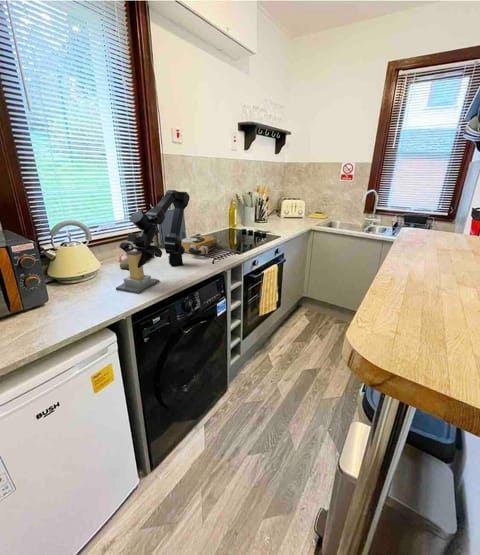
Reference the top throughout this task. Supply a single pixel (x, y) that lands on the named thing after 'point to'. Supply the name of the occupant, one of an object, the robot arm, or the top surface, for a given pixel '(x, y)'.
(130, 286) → the grey stepped base
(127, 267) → the sandal
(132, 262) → the tan upright block
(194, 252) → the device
